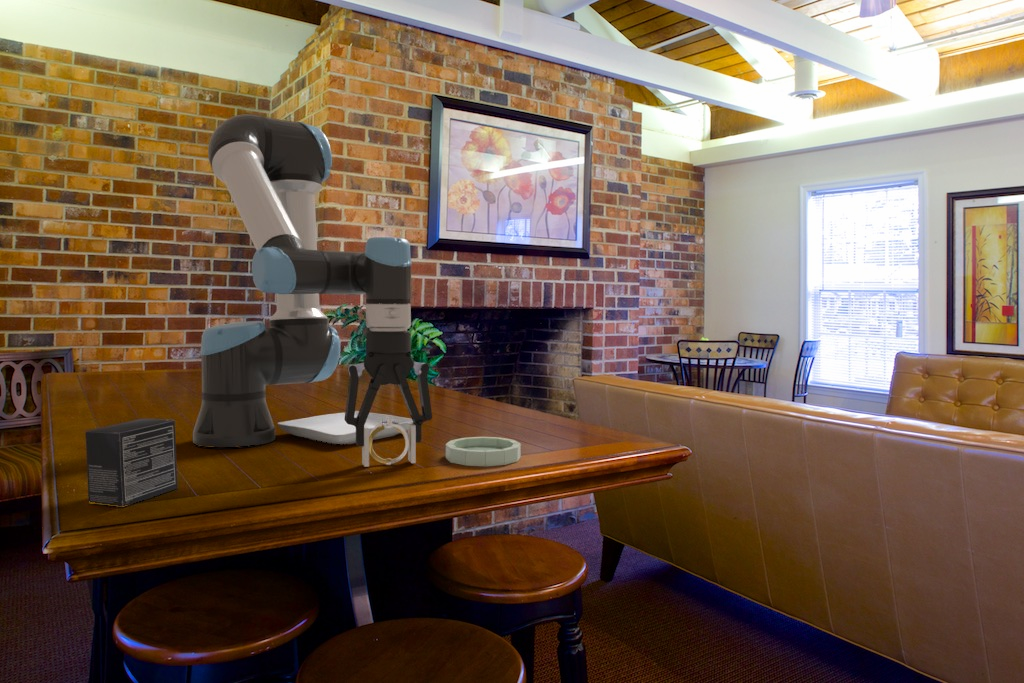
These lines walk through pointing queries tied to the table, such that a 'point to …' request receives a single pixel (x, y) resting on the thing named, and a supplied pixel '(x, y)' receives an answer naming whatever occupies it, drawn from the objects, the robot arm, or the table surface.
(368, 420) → the salad plate
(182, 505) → the table surface
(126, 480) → the small box
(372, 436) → the bracelet
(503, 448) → the ring dish
